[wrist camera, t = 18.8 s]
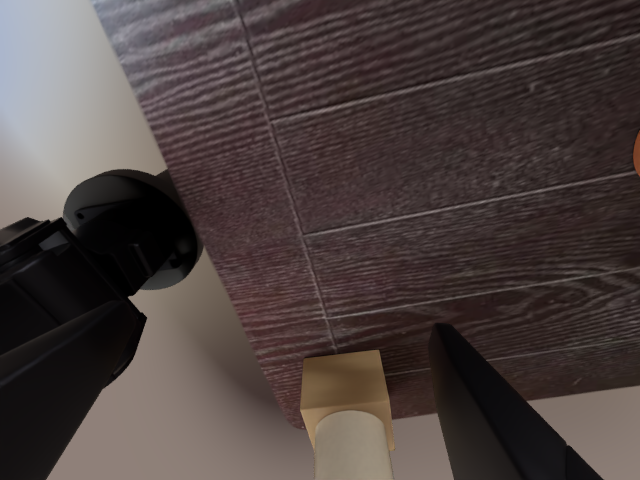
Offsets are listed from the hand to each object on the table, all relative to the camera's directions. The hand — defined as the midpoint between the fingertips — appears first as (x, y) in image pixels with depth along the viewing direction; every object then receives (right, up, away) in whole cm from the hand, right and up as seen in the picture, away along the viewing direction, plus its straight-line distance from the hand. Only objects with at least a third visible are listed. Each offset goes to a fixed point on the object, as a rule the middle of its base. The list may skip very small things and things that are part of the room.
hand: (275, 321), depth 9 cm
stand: (+4, -11, +21) cm, 24 cm away
